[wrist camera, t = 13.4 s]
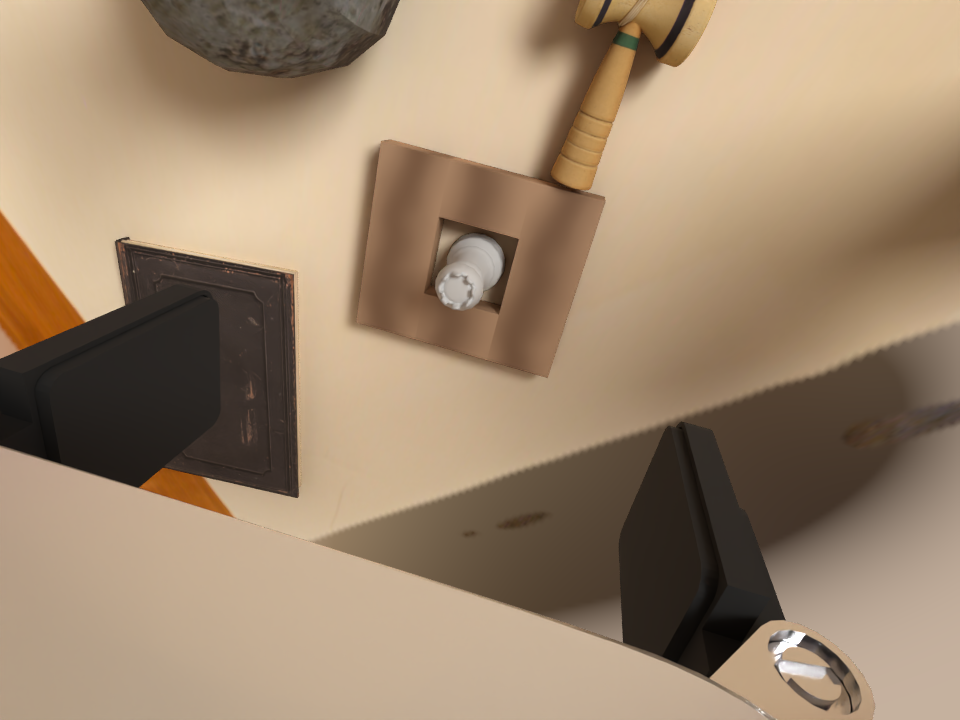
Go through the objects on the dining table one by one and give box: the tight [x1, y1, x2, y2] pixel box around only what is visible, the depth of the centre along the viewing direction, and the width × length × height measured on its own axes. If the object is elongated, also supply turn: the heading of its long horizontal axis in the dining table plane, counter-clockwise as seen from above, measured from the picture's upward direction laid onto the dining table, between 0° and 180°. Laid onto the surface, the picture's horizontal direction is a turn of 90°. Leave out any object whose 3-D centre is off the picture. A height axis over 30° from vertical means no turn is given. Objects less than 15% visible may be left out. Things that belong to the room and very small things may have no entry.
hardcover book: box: [115, 237, 301, 498], centre depth 51 cm, size 16×23×2 cm
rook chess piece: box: [435, 233, 505, 311], centre depth 39 cm, size 4×4×8 cm
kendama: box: [550, 0, 717, 190], centre depth 33 cm, size 8×6×18 cm
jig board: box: [356, 140, 605, 378], centre depth 41 cm, size 16×14×2 cm
